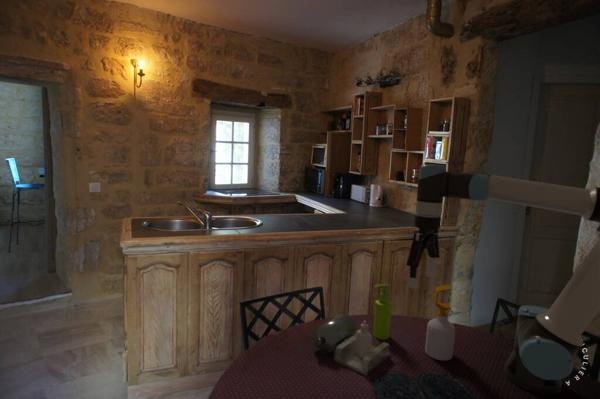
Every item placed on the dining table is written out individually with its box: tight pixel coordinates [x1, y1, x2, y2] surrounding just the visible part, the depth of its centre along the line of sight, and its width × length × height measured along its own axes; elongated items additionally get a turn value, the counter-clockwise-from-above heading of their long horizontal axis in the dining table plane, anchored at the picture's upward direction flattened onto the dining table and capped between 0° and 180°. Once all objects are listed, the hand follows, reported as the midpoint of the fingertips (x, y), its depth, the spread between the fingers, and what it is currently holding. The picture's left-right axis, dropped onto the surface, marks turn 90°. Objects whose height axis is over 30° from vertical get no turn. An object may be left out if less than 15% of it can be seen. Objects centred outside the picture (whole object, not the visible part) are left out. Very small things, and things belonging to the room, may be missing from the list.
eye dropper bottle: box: [355, 320, 373, 358], centre depth 123 cm, size 4×6×12 cm
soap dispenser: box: [372, 283, 393, 340], centre depth 138 cm, size 6×7×20 cm
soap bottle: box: [424, 284, 456, 361], centre depth 127 cm, size 9×9×25 cm
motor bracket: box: [311, 313, 391, 377], centre depth 125 cm, size 22×18×9 cm
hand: (421, 282), depth 116 cm, fingers open, 13 cm apart
